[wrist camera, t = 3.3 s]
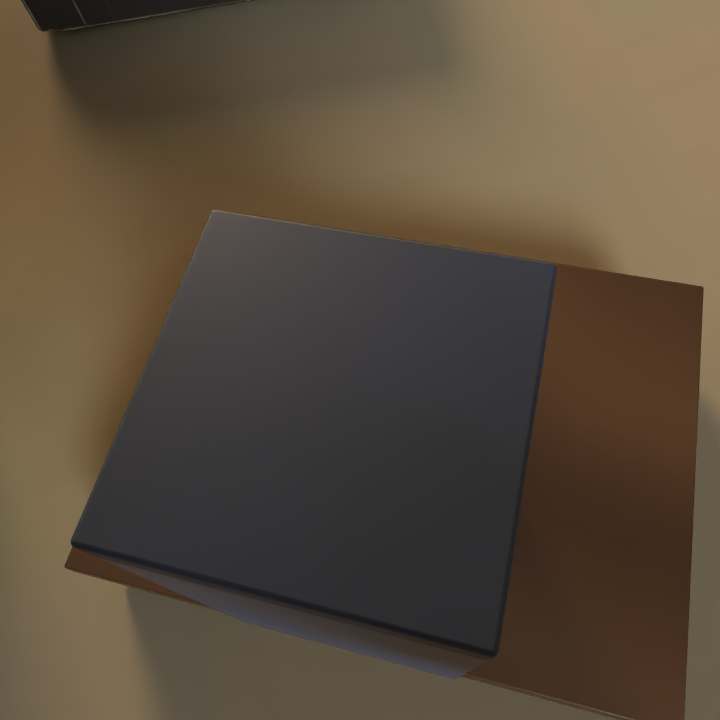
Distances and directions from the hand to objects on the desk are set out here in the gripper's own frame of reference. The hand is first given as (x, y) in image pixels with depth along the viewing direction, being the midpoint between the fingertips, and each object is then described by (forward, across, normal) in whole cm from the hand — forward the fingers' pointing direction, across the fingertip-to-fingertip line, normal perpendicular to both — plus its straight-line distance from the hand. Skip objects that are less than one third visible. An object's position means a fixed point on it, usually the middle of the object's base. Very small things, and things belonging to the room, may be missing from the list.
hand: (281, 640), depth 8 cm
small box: (+7, 0, +3) cm, 7 cm away
